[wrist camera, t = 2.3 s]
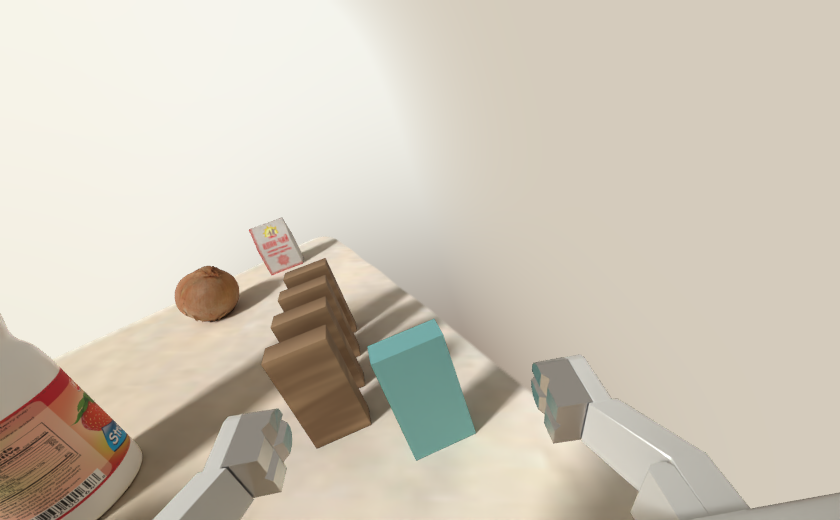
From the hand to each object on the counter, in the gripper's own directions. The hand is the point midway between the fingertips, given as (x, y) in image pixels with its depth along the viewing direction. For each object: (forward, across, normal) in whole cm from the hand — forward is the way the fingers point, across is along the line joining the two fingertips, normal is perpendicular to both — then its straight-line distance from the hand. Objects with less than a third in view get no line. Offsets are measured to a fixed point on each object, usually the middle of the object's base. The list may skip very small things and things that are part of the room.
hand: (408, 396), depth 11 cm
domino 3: (+17, +9, +19) cm, 27 cm away
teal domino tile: (+8, -1, +17) cm, 19 cm away
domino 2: (+21, +10, +20) cm, 31 cm away
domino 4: (+12, +8, +19) cm, 23 cm away
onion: (+43, +35, +26) cm, 61 cm away
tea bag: (+56, +26, +27) cm, 68 cm away
